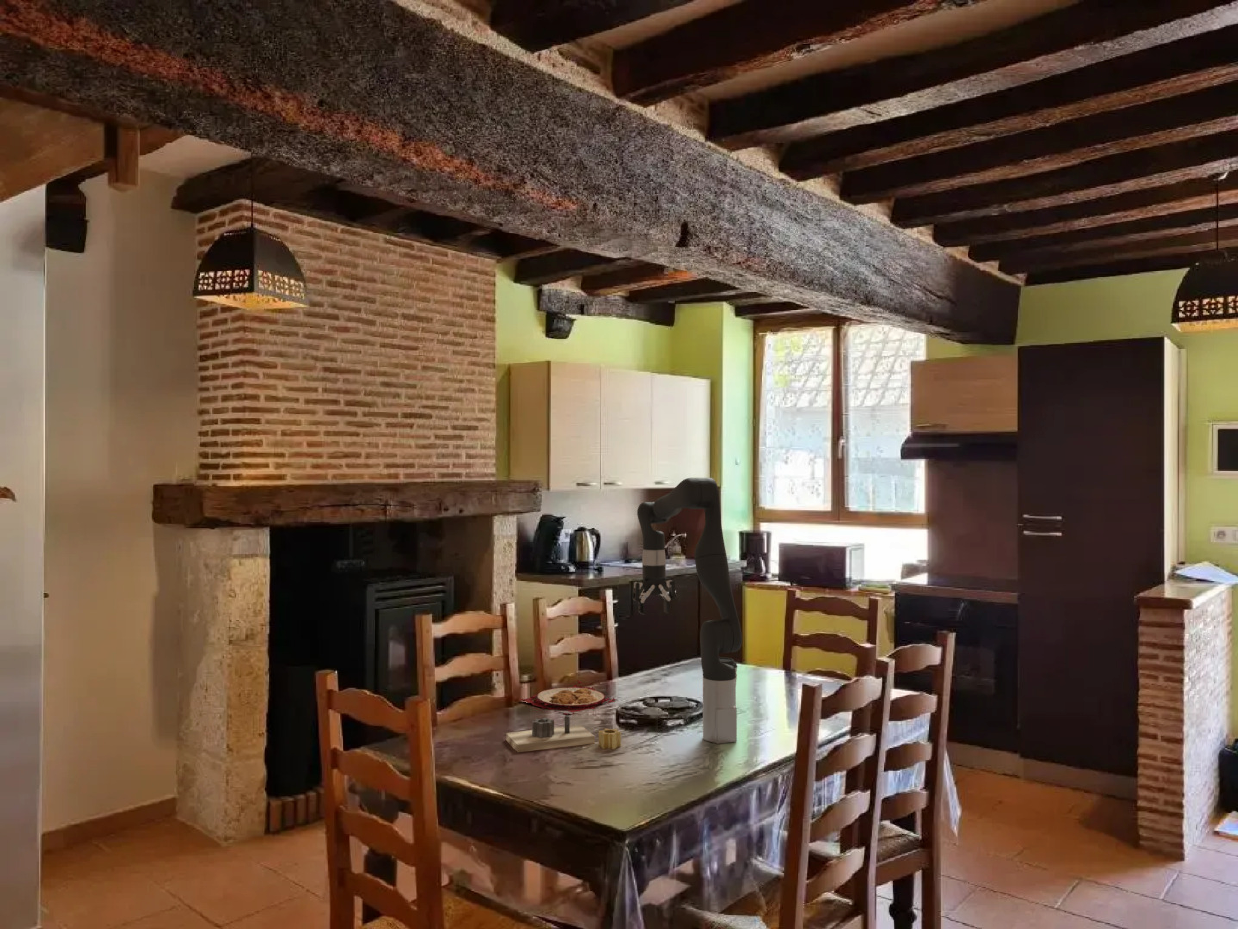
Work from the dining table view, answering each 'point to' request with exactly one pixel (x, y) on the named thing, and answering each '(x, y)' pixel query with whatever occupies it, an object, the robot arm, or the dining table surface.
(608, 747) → the brass gear
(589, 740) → the gear board
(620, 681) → the dining table surface
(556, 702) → the plate with food
